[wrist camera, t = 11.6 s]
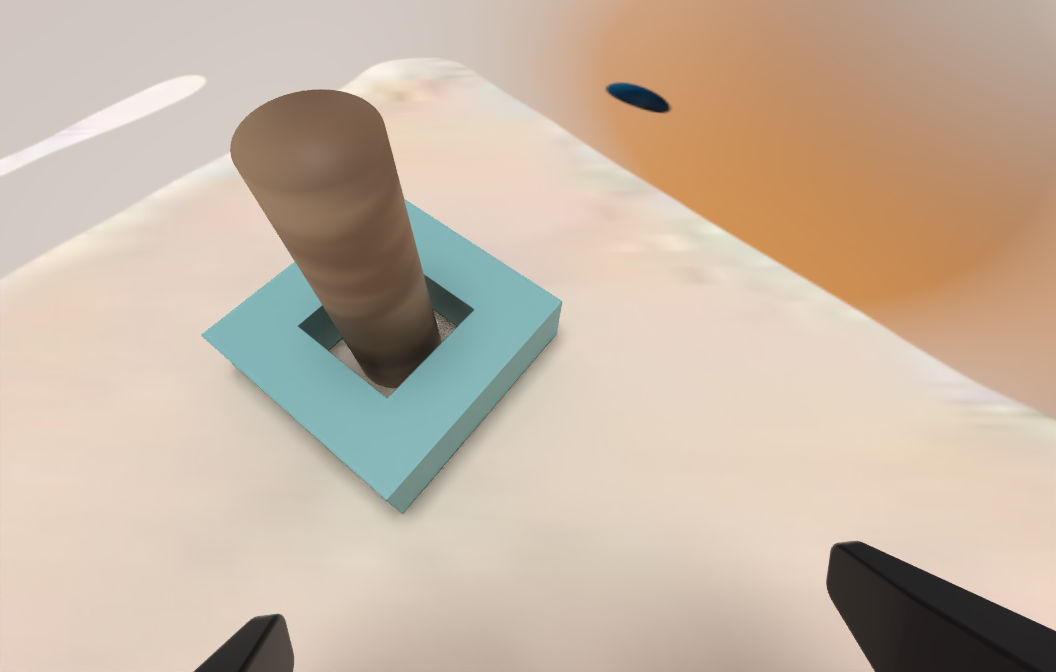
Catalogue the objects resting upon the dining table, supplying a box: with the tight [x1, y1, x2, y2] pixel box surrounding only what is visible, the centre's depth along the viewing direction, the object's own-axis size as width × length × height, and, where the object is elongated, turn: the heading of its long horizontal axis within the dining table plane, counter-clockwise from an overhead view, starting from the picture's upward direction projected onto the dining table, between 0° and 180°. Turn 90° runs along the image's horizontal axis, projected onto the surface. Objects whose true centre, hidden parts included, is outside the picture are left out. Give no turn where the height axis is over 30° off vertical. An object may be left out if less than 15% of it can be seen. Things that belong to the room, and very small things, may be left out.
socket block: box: [201, 199, 562, 514], centre depth 23 cm, size 11×11×3 cm
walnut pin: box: [230, 90, 441, 388], centre depth 19 cm, size 4×4×12 cm
